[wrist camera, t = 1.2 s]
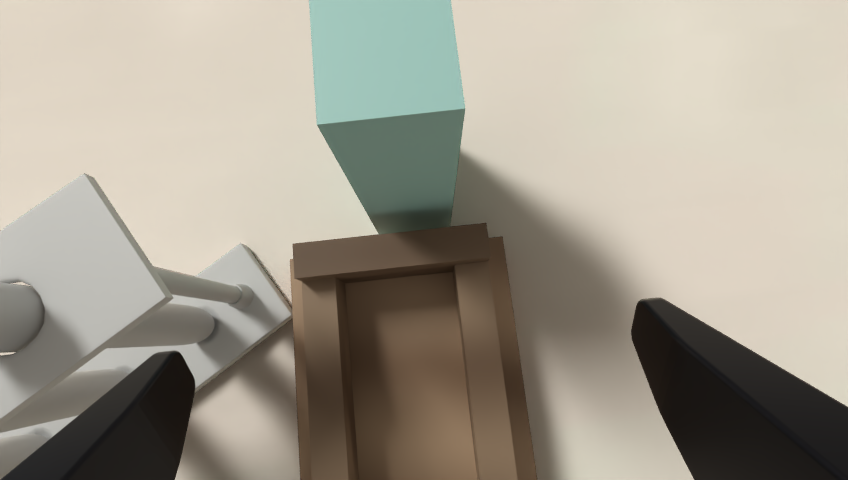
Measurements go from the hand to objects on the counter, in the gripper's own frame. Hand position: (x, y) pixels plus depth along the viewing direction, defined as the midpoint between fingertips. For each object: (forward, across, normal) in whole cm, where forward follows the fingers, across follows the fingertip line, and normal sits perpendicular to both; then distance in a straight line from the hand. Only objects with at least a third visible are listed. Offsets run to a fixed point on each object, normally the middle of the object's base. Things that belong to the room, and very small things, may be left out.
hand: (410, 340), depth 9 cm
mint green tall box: (+15, 0, +4) cm, 15 cm away
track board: (+8, +1, +11) cm, 13 cm away
